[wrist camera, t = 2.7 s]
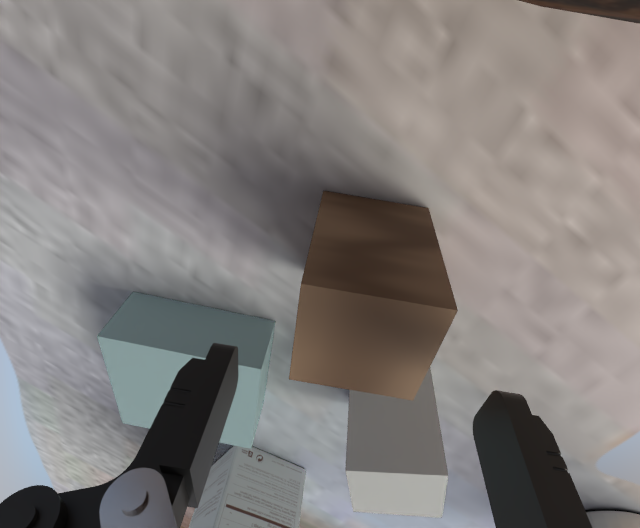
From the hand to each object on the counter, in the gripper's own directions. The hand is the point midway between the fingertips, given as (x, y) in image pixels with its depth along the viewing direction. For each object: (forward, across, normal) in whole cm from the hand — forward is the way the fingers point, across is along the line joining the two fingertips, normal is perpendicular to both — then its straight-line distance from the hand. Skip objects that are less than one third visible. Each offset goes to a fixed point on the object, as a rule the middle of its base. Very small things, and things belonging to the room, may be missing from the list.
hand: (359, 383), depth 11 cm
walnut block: (+9, 0, 0) cm, 9 cm away
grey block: (+8, -4, +11) cm, 15 cm away
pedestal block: (+9, +9, +11) cm, 17 cm away
